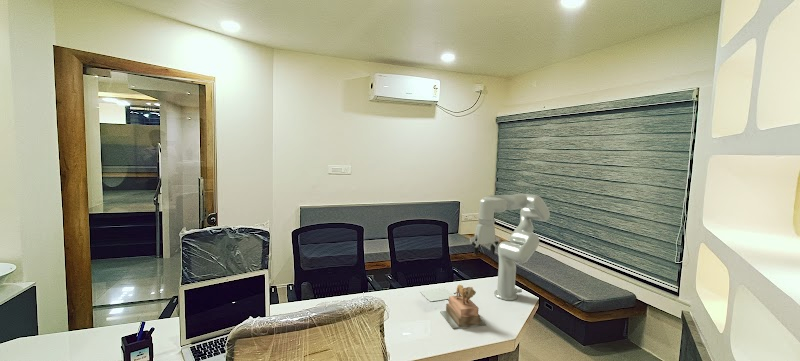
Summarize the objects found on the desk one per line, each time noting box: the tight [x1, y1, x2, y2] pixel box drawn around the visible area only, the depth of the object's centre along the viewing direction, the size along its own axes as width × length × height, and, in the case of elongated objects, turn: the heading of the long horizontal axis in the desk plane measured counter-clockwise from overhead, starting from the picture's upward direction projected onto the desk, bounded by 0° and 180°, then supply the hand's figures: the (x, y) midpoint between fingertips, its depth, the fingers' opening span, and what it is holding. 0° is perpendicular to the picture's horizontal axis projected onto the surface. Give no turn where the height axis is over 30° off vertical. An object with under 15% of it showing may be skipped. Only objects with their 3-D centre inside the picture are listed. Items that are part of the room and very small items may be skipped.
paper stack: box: [419, 287, 455, 302], centre depth 180 cm, size 23×25×1 cm
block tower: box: [439, 295, 487, 330], centre depth 159 cm, size 17×16×9 cm
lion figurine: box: [453, 284, 477, 305], centre depth 159 cm, size 15×5×9 cm, turn 28°
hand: (484, 253), depth 172 cm, fingers open, 9 cm apart
